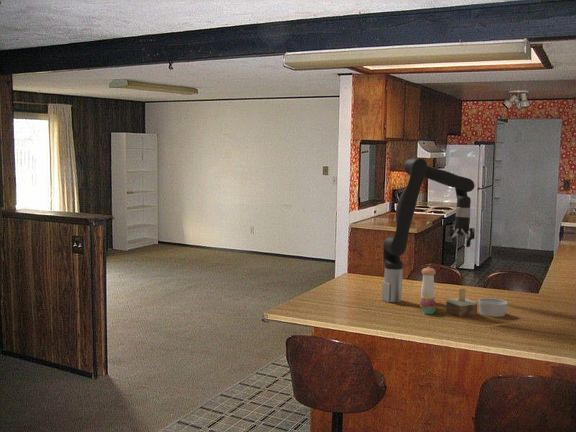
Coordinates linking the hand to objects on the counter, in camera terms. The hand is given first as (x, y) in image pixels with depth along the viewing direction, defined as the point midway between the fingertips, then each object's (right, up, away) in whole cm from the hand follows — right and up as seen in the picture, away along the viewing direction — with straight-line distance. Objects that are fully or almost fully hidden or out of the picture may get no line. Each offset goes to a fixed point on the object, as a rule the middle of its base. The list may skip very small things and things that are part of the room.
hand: (461, 245), depth 327 cm
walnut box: (-10, -31, -35) cm, 48 cm away
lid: (-10, -25, -36) cm, 46 cm away
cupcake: (-26, -31, -35) cm, 54 cm away
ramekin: (+5, -32, -35) cm, 47 cm away
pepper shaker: (-21, -29, -14) cm, 39 cm away
